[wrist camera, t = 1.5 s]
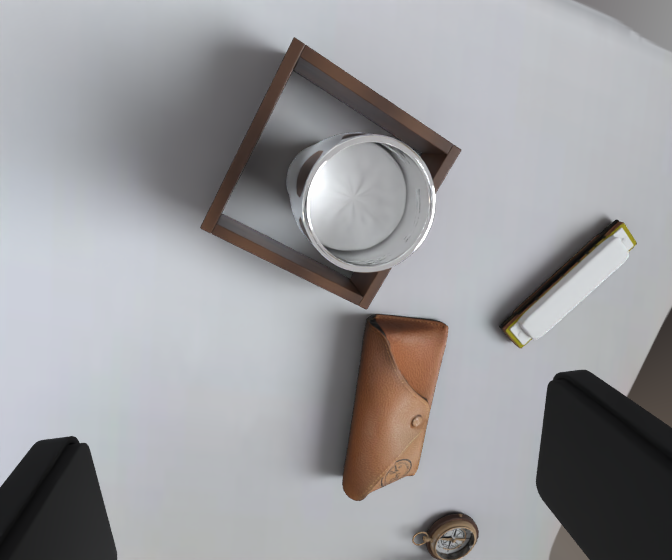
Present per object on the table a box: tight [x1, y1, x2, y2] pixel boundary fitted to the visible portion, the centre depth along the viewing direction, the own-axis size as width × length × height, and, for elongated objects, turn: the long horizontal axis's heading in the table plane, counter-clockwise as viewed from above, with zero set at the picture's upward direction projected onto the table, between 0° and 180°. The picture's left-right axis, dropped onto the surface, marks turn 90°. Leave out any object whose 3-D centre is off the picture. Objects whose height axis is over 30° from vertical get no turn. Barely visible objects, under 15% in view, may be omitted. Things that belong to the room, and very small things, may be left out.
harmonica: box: [499, 220, 637, 348], centre depth 40 cm, size 15×3×2 cm, turn 134°
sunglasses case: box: [342, 314, 448, 501], centre depth 40 cm, size 18×7×7 cm
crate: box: [200, 38, 461, 309], centre depth 32 cm, size 14×14×5 cm
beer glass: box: [286, 132, 435, 273], centre depth 27 cm, size 7×7×15 cm
